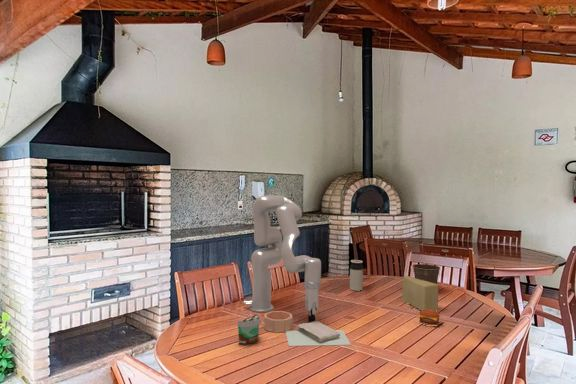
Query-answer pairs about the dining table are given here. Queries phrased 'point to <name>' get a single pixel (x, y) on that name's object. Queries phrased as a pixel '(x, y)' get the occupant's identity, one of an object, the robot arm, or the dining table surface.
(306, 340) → the mat
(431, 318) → the hamburger
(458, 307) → the dining table surface
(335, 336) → the washcloth
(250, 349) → the dining table surface
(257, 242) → the robot arm
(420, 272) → the plant pot
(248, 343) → the food container
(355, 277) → the travel mug
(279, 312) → the bowl
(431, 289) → the olive green box
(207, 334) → the dining table surface
